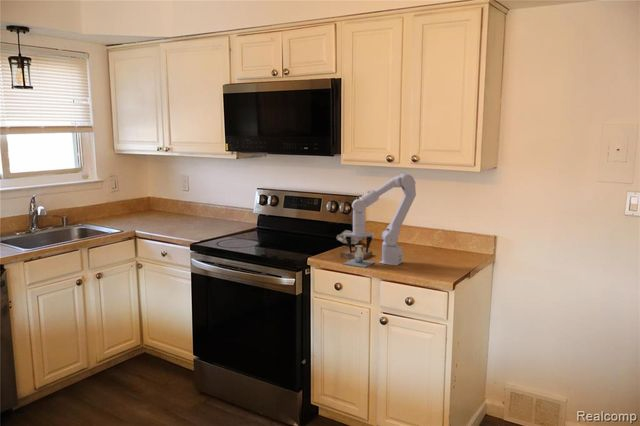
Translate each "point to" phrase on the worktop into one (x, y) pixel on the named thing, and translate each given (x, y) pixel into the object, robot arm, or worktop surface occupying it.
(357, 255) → the plug
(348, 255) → the bore block
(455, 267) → the worktop surface
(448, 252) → the worktop surface
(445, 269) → the worktop surface
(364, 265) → the mat
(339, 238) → the rock
